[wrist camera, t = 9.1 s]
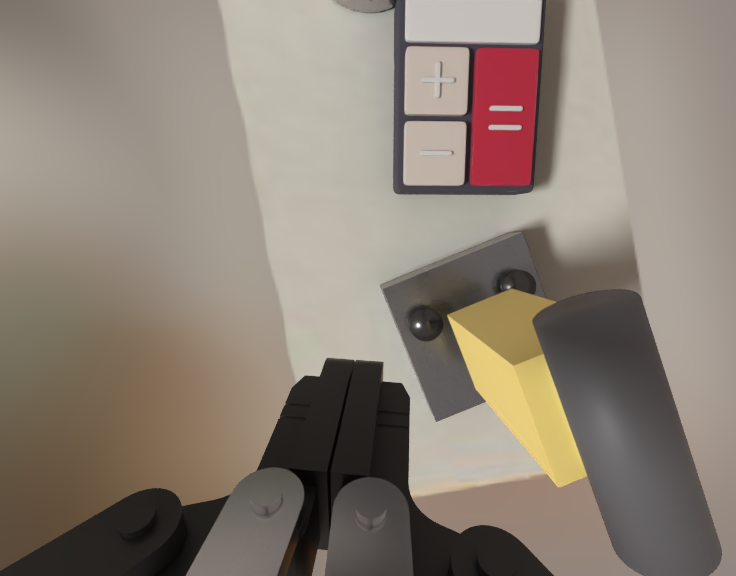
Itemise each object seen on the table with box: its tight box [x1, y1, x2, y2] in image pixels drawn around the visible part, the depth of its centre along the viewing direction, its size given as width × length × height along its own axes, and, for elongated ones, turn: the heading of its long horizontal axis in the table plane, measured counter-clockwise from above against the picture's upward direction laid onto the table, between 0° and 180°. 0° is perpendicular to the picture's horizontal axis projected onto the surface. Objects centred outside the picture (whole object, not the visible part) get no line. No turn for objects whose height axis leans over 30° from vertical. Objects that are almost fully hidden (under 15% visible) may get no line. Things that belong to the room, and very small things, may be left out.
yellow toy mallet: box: [447, 289, 722, 576], centre depth 22 cm, size 10×5×18 cm, turn 22°
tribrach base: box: [380, 232, 546, 422], centre depth 34 cm, size 12×12×4 cm
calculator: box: [393, 0, 546, 195], centre depth 32 cm, size 11×4×15 cm
